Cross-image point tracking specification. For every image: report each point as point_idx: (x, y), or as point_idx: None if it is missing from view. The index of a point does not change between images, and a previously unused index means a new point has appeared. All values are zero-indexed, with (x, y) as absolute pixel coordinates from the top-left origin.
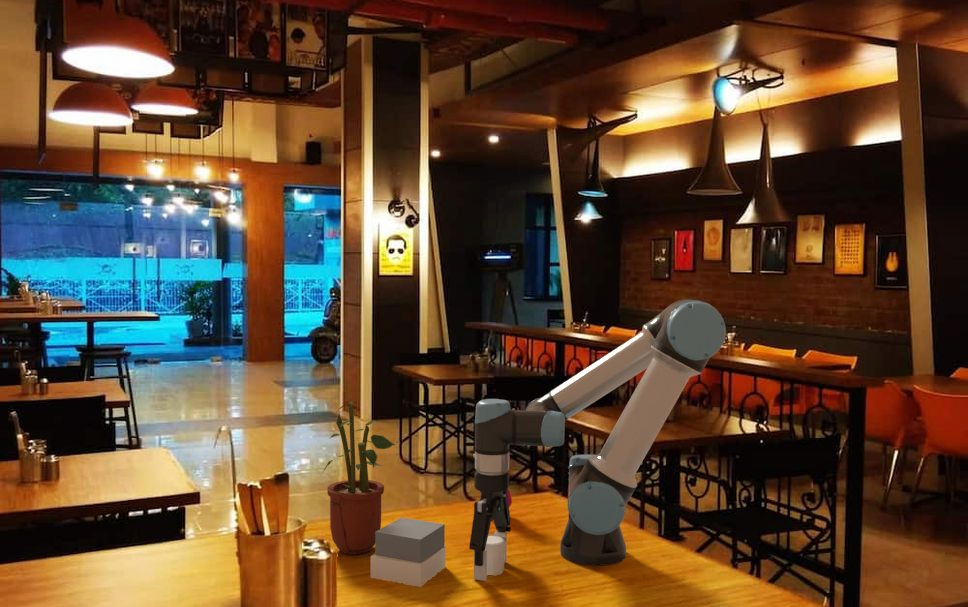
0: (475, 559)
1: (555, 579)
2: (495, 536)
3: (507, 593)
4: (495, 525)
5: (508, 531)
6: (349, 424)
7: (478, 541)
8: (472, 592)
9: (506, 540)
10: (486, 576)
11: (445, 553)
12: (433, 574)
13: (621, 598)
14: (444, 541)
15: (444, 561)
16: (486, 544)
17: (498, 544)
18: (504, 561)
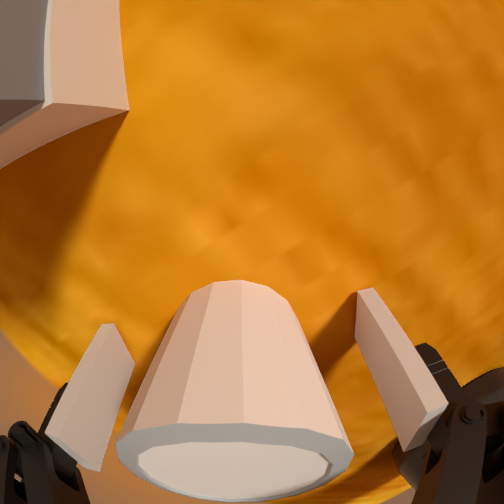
0: (53, 407)
1: None
2: (318, 468)
3: (121, 421)
4: (443, 458)
5: (424, 453)
6: None
7: (19, 493)
8: (46, 353)
9: (278, 498)
10: (128, 374)
11: (84, 106)
12: (12, 159)
13: None
14: (11, 99)
15: (99, 112)
16: (138, 474)
17: (192, 497)
18: (354, 336)
